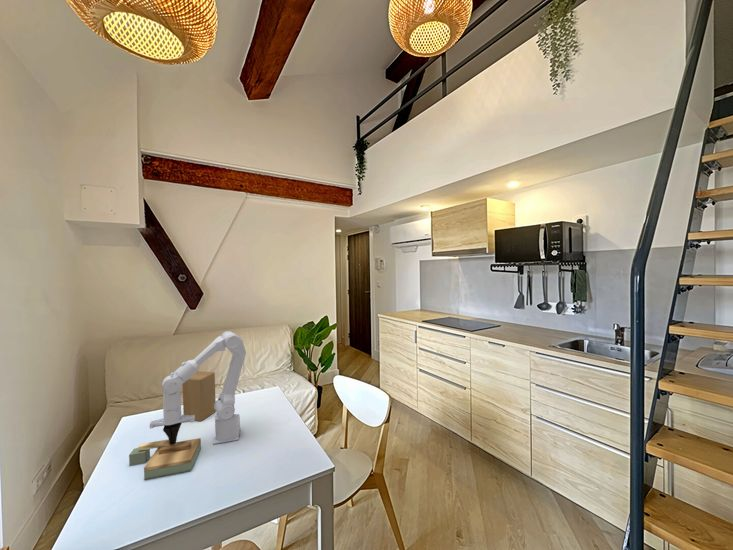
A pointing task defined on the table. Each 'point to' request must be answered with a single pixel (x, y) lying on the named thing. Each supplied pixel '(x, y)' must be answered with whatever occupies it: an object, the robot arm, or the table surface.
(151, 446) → the light wooden bar
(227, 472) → the table surface
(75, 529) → the table surface
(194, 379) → the wooden block
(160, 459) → the lid
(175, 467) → the green piece
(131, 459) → the block
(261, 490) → the table surface
